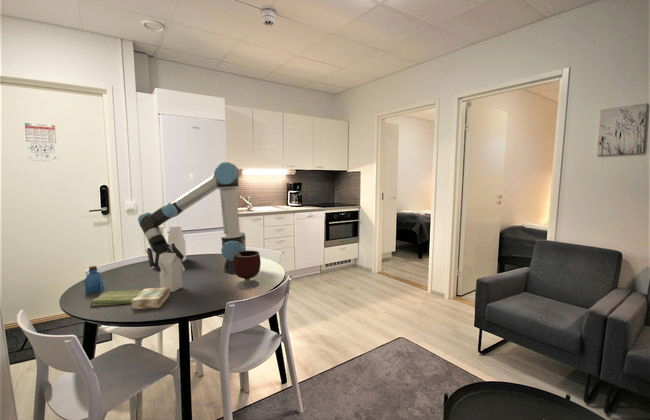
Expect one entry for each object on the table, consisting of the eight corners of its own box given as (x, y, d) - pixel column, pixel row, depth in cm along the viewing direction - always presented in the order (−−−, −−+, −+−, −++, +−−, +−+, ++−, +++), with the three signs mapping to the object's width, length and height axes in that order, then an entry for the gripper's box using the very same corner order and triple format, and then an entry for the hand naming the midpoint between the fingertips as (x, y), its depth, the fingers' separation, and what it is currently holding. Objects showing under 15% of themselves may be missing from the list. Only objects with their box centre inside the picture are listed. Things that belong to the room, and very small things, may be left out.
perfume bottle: (85, 293, 150) (83, 269, 149) (88, 289, 155) (86, 266, 154) (101, 291, 153) (99, 267, 151) (103, 287, 158) (101, 264, 157)
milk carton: (172, 292, 151) (170, 255, 149) (160, 291, 152) (158, 254, 150) (182, 287, 158) (180, 251, 156) (170, 286, 159) (168, 250, 157)
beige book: (169, 295, 147) (169, 287, 147) (159, 307, 134) (158, 298, 133) (145, 296, 145) (144, 288, 145) (132, 309, 132) (131, 300, 131)
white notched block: (177, 267, 193) (174, 228, 190) (151, 268, 190) (148, 228, 188) (186, 259, 212) (184, 223, 209) (162, 260, 209) (160, 224, 207)
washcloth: (132, 305, 137) (132, 298, 137) (88, 308, 134) (88, 301, 134) (144, 294, 150) (143, 287, 150) (104, 296, 147) (103, 290, 146)
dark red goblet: (252, 278, 171) (251, 243, 169) (266, 285, 161) (265, 248, 159) (226, 285, 160) (224, 248, 158) (239, 293, 150) (238, 253, 148)
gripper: (173, 239, 170) (191, 272, 163) (131, 246, 152) (148, 284, 145) (178, 231, 167) (196, 264, 159) (135, 237, 149) (153, 275, 141)
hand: (173, 273), depth 152 cm, fingers closed on milk carton, 9 cm apart
